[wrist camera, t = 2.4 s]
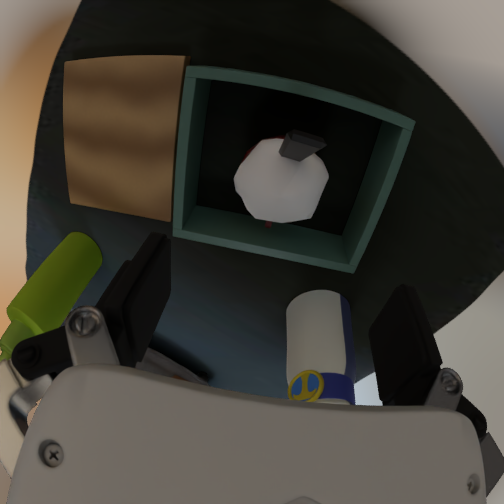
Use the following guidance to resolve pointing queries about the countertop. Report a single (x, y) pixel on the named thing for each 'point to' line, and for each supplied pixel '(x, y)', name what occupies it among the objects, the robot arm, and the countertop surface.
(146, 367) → the serving tray
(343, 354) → the water bottle
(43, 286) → the soap dispenser
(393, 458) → the robot arm
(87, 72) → the cutting board
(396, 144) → the crate
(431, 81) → the countertop surface
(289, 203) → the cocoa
